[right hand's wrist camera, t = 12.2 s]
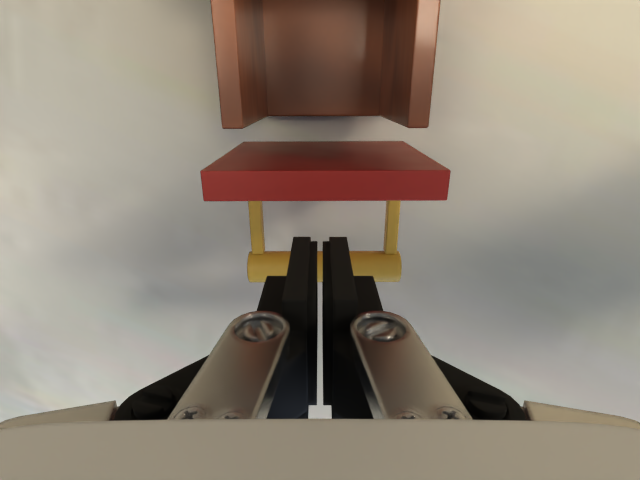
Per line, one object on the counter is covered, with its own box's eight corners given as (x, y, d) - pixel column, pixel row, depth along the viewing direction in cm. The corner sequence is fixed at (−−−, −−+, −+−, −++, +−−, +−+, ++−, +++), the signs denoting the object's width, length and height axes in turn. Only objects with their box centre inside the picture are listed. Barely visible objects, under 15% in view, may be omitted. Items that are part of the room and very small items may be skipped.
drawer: (395, 244, 25) (433, 319, 17) (250, 244, 25) (217, 320, 17) (427, -181, 18) (522, -421, 9) (219, -180, 18) (131, -419, 9)
